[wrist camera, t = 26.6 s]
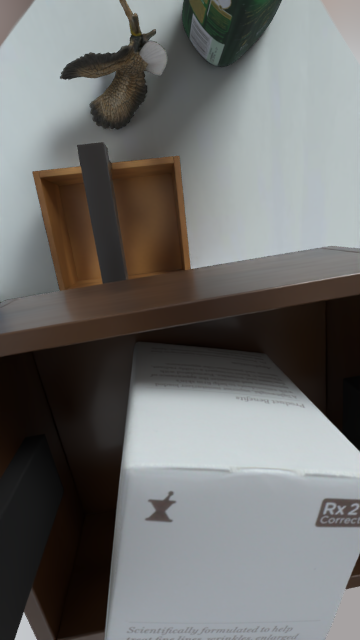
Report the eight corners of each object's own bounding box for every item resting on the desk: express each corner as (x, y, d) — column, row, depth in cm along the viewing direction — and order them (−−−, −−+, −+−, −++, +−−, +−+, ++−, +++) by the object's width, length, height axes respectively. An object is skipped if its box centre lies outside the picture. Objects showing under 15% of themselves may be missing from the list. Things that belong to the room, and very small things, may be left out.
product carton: (122, 455, 14) (95, 669, 7) (135, 336, 13) (116, 468, 6) (243, 461, 15) (322, 660, 8) (270, 350, 14) (399, 481, 7)
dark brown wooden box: (78, 516, 16) (43, 655, 11) (6, 299, 12) (-100, 350, 7) (331, 466, 17) (414, 575, 11) (331, 245, 13) (452, 256, 8)
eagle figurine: (101, 0, 30) (47, 75, 30) (135, -27, 25) (71, 63, 25) (150, 77, 35) (105, 139, 35) (187, 67, 30) (133, 140, 30)
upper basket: (77, 284, 38) (34, 312, 25) (56, 182, 35) (-7, 153, 22) (186, 271, 39) (199, 292, 26) (175, 169, 35) (184, 133, 22)
